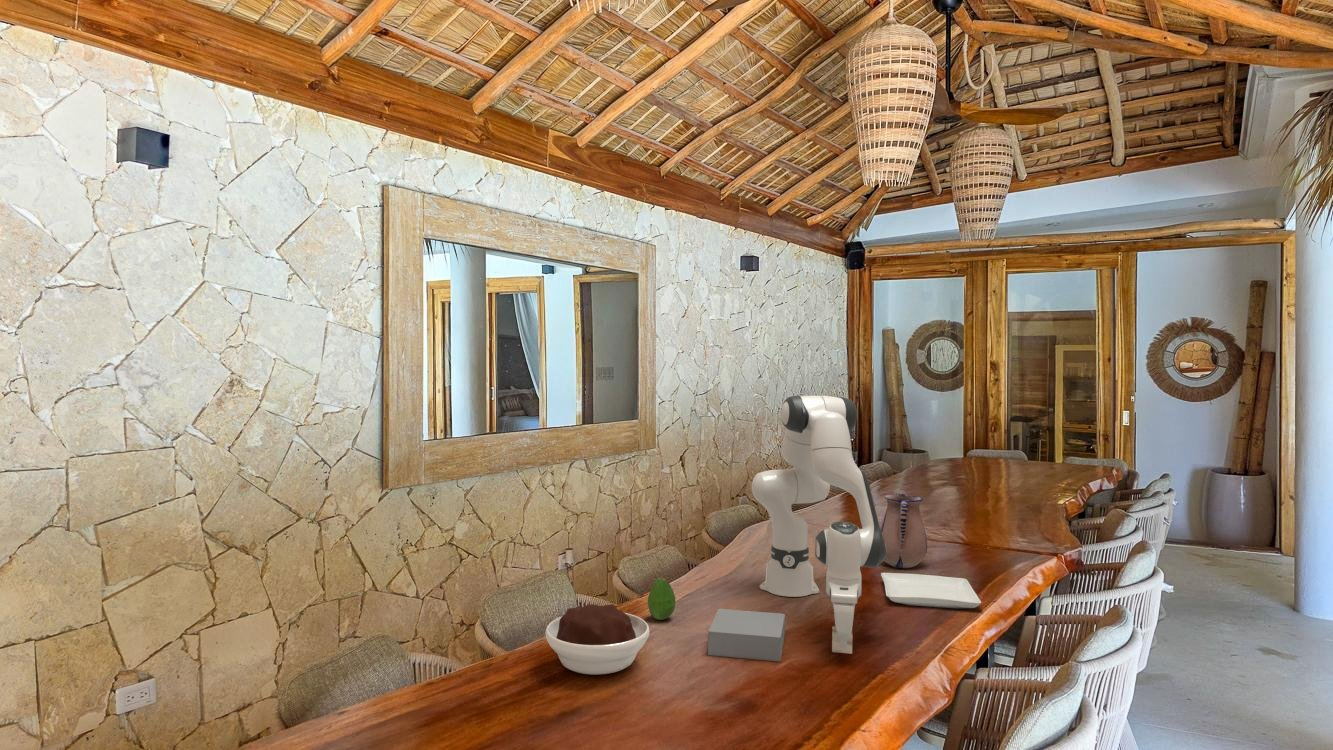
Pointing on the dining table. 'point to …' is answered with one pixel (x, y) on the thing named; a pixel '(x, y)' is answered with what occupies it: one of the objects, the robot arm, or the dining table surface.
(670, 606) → the avocado
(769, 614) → the pedestal
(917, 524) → the ceramic pitcher
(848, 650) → the cream cube
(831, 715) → the dining table surface
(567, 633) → the chocolate pudding bowl
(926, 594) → the square plate
